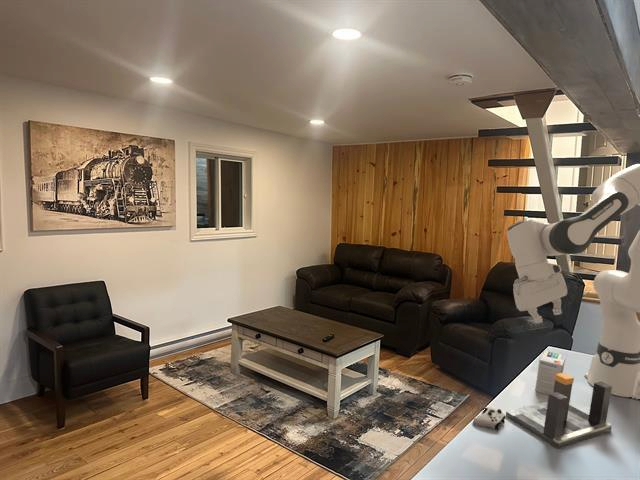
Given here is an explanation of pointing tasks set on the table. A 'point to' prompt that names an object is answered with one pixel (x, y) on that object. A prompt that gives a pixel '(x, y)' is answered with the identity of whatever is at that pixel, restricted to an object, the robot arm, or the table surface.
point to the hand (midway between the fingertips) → (548, 318)
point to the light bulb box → (549, 371)
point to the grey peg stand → (577, 427)
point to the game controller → (490, 418)
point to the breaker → (564, 387)
